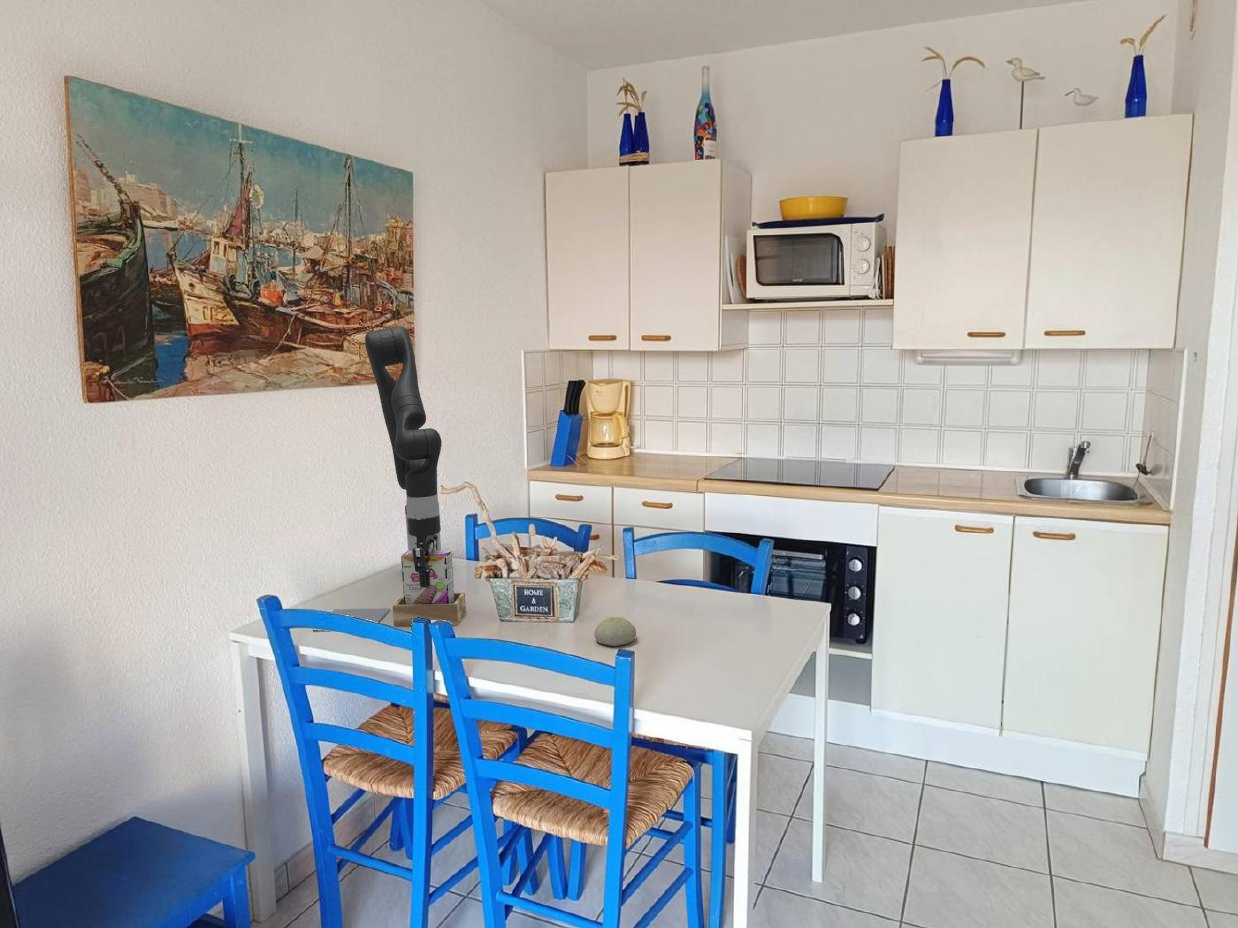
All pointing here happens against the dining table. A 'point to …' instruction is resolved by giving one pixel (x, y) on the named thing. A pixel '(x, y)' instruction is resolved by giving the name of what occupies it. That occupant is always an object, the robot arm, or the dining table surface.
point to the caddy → (429, 611)
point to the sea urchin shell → (615, 631)
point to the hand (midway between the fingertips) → (428, 583)
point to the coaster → (364, 613)
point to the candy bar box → (439, 580)
